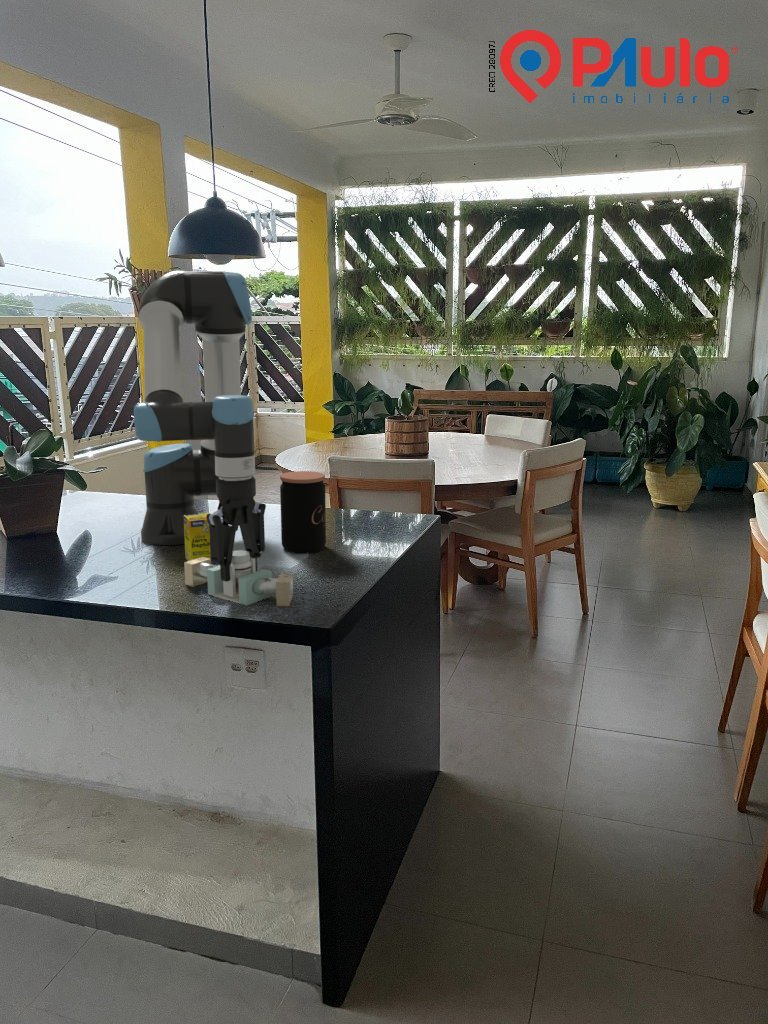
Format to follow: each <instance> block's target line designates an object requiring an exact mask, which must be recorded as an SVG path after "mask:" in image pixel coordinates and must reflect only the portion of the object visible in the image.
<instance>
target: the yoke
mask: <svg viewBox="0 0 768 1024" xmlns="http://www.w3.org/2000/svg"><path fill="white" fill-rule="evenodd" d="M258 578H273V571H271V570H268V569H265V568H264V569H261V570H257V571H256V572H255V573H252V574H249V575H247V576H244V577H241V578H238V583H239V597H230V596H227V595H224V590H223V580H221V574H220V565H219V564H218V565H216V567H213V568H210V569H207V581H208V582H207V594H208V595H210V596H213V597H216V598H219V599H222V600H225V601H228V600H230V601H229V602H232V601H233V602H232V603H235V602H236V603H235V604H238V603H239V605H241V604H242V606H245V607H249V606H250V605H254V604H256V603H258V601H259V602H260V601H263V599H264V600H267V599H269V598H272V597H273V595H271V594H254V593H253V591H252V585H253V583H254V582H255V580H257V579H258ZM266 598H267V599H266Z"/></svg>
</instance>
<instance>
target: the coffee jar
mask: <svg viewBox="0 0 768 1024" xmlns="http://www.w3.org/2000/svg"><path fill="white" fill-rule="evenodd" d="M325 478H326V475H325V474H324V473H323V472H319V471H312V470H311V471H310V470H308V471H307V470H294V471H287V472H284V473H281V474H280V475H279V479H280V481H281V483H280V485H279V493H280V494H279V495H280V496H279V499H280V501H279V502H280V531H281V534H280V535H281V537H280V539H281V545H282V548H283V549H284V551H285V552H288V553H292V554H300V555H303V554H313V553H318V552H320V551H322V550H323V549H324V548H325V546H326V543H327V527H326V523H327V521H326V518H327V517H326V516H327V515H326V506H327V505H326V484H325V483H324V481H325Z"/></svg>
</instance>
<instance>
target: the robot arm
mask: <svg viewBox="0 0 768 1024" xmlns="http://www.w3.org/2000/svg"><path fill="white" fill-rule="evenodd" d="M252 322H253V317H252V307H251V300H250V295H249V289H248V285H247V281H246V278H245V277H244V275H242V274H241V273H238V272H232V271H231V272H230V271H225V270H224V271H220V270H219V271H215V270H214V271H213V270H211V271H208V270H207V271H205V270H204V271H201V270H200V271H199V270H197V271H195V270H194V271H192V270H190V271H189V270H173V271H169V272H167V273H164V274H163V275H161V276H159V277H157V279H155V280H154V281H153V282H152V283H151V284H150V285H149V286H148V288H146V290H145V292H144V293H143V295H142V297H141V298H140V301H139V306H138V323H139V324H140V326H141V328H142V329H143V367H144V368H143V369H144V370H143V371H144V402H138V403H136V404H134V407H133V421H134V432H135V437H136V438H137V440H139V441H141V442H158V443H159V442H172V441H200V449H193V446H192V444H190V443H173V444H172V443H171V444H167V445H160V446H156V447H153V448H151V449H149V450H148V451H146V452H145V453H144V456H143V469H142V471H143V472H144V483H145V484H144V486H145V487H144V488H145V489H144V490H145V502H146V503H145V504H146V510H145V515H144V517H143V522H142V523H143V524H142V527H141V529H140V535H141V536H140V537H141V541H142V542H143V543H145V544H149V545H156V546H173V545H174V546H176V545H185V537H184V515H195V514H198V512H197V509H196V506H195V505H196V504H195V497H199V496H201V497H204V496H205V497H206V496H216V497H217V498H218V505H217V510H215V511H214V512H213V513H210V514H207V516H206V518H207V521H208V524H209V531H210V552H211V562H212V563H216V564H217V565H218V566H219V565H220V574H221V580H223V590H224V595H227V596H230V597H236V584H235V565H234V564H231V561H232V554H233V551H234V547H235V540H236V533H237V531H238V530H240V534H241V538H242V543H243V545H244V551H248V552H249V554H250V560H249V561H250V562H251V563H252V573H255V572H258V558H261V557H262V553H264V552H265V550H266V542H265V540H266V538H265V537H266V536H265V535H266V534H265V512H266V507H267V505H266V504H265V503H262V502H256V501H255V500H256V499H255V496H256V494H257V485H256V478H255V474H256V462H255V461H256V459H255V439H254V438H255V432H254V430H255V428H254V425H255V424H254V418H255V411H254V405H253V400H252V398H251V397H250V396H248V395H242V394H241V393H242V391H241V390H242V389H241V387H242V386H241V356H240V355H241V354H240V348H241V347H240V340H241V338H242V337H243V336H244V335H245V334H246V331H247V329H246V328H247V326H249V325H251V324H253V323H252ZM184 324H187V325H189V324H190V325H191V324H193V325H194V327H195V328H194V329H195V330H194V331H195V333H196V334H197V335H198V336H199V337H200V338H201V340H202V358H203V359H202V361H203V362H202V363H203V382H204V386H203V387H204V401H196V402H195V401H193V402H192V401H187V402H185V401H184V390H183V389H184V388H183V387H184V385H183V369H182V368H183V367H182V353H181V351H182V350H181V349H182V348H181V334H180V333H181V332H180V330H181V329H183V325H184Z"/></svg>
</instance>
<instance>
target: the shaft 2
mask: <svg viewBox="0 0 768 1024" xmlns="http://www.w3.org/2000/svg"><path fill="white" fill-rule="evenodd" d="M252 591H253V593H254V594H271V595H272V596H273V595H275V596H276V607H290V605H291V603H292V600H293V597H294V579H293V573H280V574H279V576H278V577H272V578H258V579H257V580H255V582H254V583H253V585H252Z"/></svg>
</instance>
